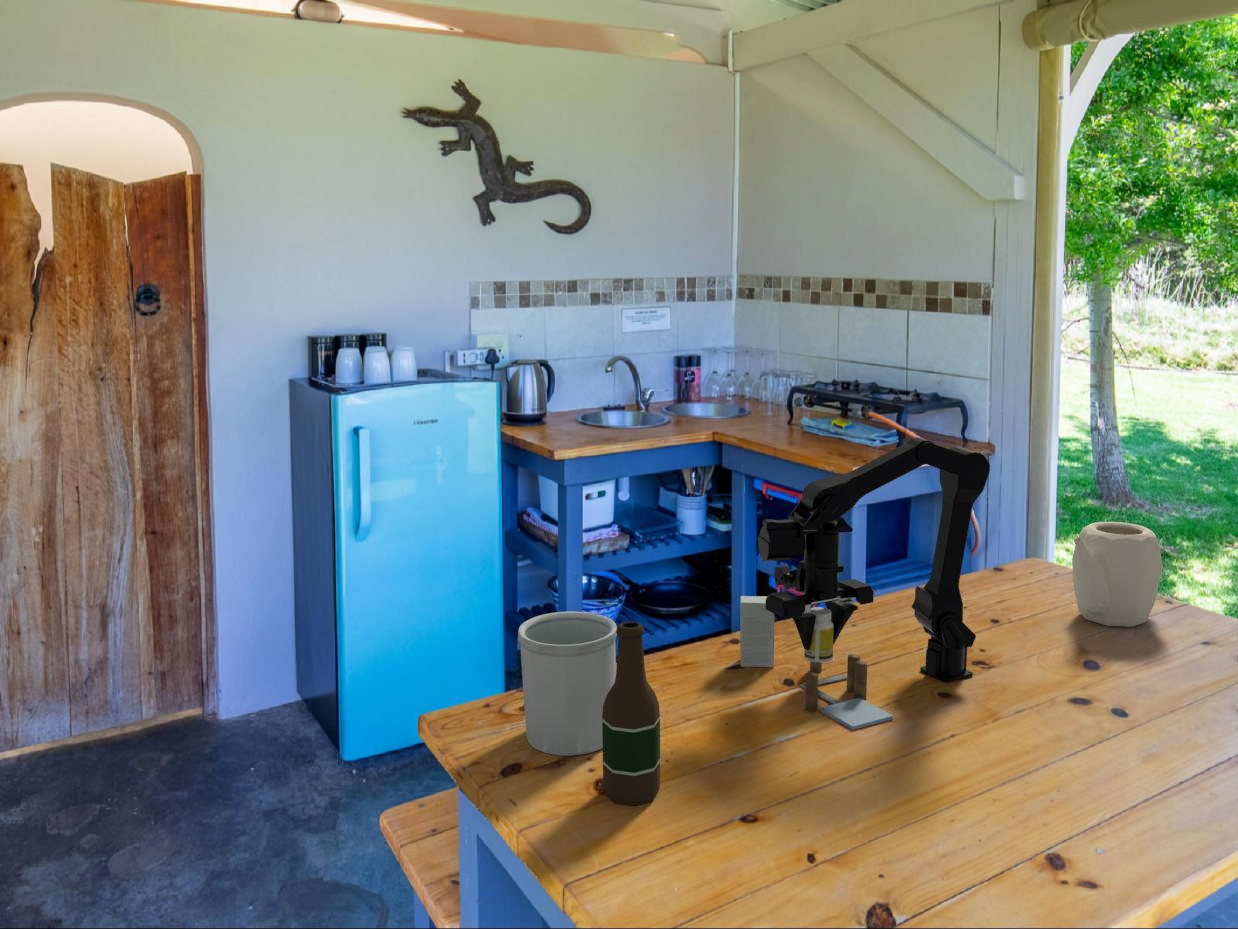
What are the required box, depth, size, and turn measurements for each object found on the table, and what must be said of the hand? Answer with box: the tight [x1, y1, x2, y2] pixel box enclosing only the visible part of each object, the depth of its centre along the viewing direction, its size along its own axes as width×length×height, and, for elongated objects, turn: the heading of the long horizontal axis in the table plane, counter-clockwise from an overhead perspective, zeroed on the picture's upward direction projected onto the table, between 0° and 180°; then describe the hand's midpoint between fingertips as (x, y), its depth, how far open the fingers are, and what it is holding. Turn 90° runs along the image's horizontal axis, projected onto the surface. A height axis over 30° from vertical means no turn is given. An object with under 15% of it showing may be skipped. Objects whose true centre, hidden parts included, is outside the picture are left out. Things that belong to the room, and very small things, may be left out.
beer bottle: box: [602, 621, 661, 807], centre depth 141 cm, size 8×8×24 cm
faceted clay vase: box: [1071, 521, 1163, 628], centre depth 208 cm, size 16×27×19 cm, turn 124°
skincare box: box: [739, 595, 775, 668], centre depth 188 cm, size 6×4×12 cm
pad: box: [819, 698, 894, 731], centre depth 167 cm, size 8×8×1 cm
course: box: [799, 653, 868, 714], centre depth 177 cm, size 14×15×6 cm
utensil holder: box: [517, 610, 618, 757], centre depth 159 cm, size 15×15×18 cm
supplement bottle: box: [804, 606, 834, 664], centre depth 178 cm, size 5×5×8 cm
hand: (818, 646), depth 178 cm, fingers closed on supplement bottle, 5 cm apart
